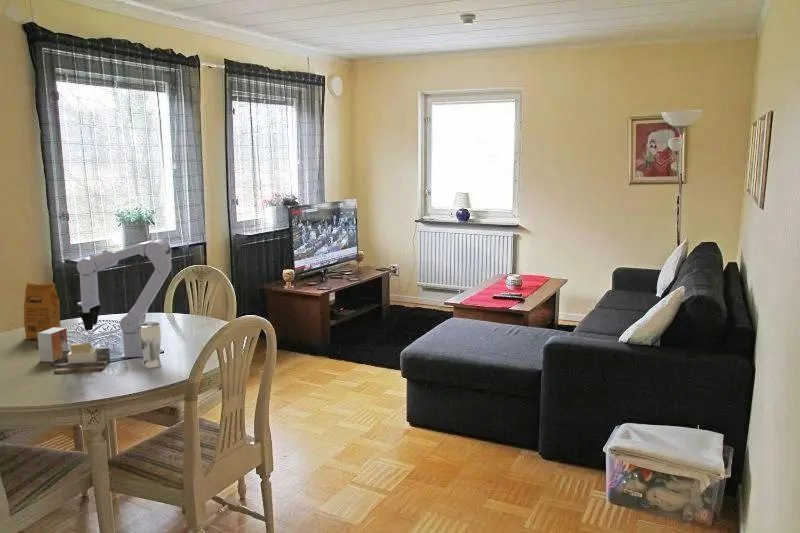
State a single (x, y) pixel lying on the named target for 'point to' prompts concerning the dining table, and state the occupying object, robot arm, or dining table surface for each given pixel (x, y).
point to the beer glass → (150, 344)
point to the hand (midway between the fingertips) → (91, 327)
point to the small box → (52, 344)
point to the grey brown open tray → (99, 365)
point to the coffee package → (40, 309)
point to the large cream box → (82, 353)
